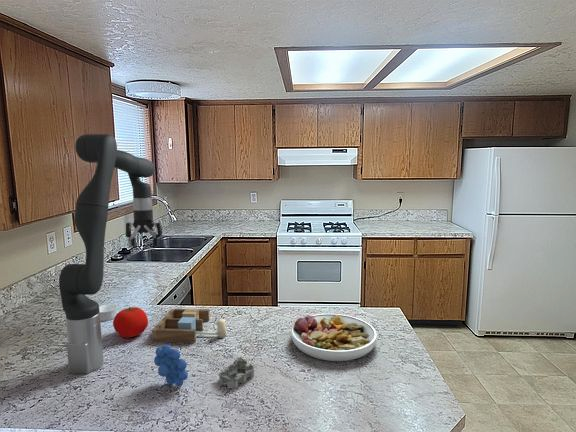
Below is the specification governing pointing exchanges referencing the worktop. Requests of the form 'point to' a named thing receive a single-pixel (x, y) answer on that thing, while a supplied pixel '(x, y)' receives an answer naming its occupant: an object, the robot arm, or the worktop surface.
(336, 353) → the bowl
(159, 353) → the grapes
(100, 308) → the ramekin
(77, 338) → the robot arm
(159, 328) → the lane rack
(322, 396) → the worktop surface
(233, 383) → the egg carton
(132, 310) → the tomato
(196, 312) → the plain oak block
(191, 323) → the tethered block
